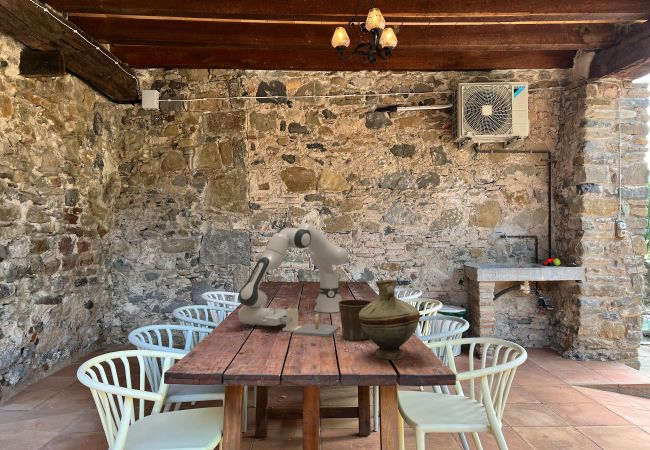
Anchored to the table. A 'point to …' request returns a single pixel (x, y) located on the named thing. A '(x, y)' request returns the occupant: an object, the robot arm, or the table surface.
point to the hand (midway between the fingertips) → (293, 318)
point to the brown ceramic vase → (389, 321)
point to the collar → (294, 323)
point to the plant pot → (352, 319)
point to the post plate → (316, 329)
